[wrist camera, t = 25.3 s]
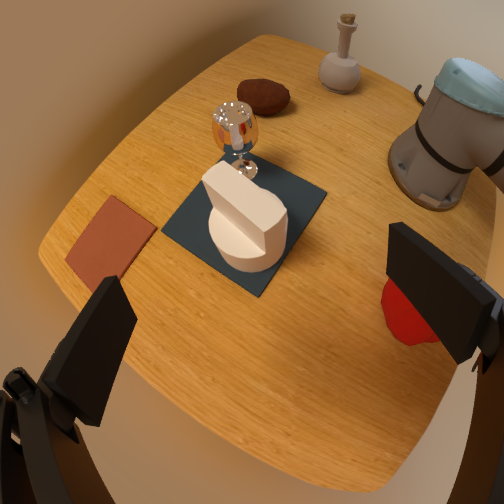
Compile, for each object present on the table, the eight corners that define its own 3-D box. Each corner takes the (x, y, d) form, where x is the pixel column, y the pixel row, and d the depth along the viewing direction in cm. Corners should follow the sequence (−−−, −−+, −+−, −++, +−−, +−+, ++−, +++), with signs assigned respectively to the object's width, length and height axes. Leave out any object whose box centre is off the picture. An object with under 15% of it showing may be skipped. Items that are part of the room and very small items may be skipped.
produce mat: (112, 195, 41) (111, 194, 41) (157, 228, 38) (155, 227, 38) (66, 260, 38) (64, 259, 38) (104, 303, 35) (102, 303, 35)
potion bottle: (354, 101, 45) (371, 26, 28) (312, 88, 46) (318, 13, 29) (360, 81, 47) (374, 15, 30) (322, 70, 49) (328, 3, 32)
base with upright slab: (299, 238, 36) (310, 190, 24) (252, 286, 34) (241, 258, 23) (251, 198, 38) (242, 142, 27) (205, 241, 37) (176, 197, 25)
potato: (252, 92, 47) (249, 67, 41) (295, 105, 45) (296, 78, 39) (233, 112, 45) (228, 86, 39) (279, 126, 43) (278, 99, 37)
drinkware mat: (233, 146, 42) (232, 144, 42) (326, 193, 38) (327, 192, 38) (161, 231, 38) (160, 230, 38) (258, 297, 34) (258, 297, 34)
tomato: (443, 277, 33) (479, 259, 24) (424, 356, 29) (462, 356, 21) (386, 251, 35) (415, 225, 26) (361, 333, 31) (389, 330, 23)
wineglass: (255, 189, 39) (247, 133, 27) (218, 181, 40) (200, 126, 28) (266, 159, 40) (263, 101, 29) (231, 153, 41) (219, 96, 30)
